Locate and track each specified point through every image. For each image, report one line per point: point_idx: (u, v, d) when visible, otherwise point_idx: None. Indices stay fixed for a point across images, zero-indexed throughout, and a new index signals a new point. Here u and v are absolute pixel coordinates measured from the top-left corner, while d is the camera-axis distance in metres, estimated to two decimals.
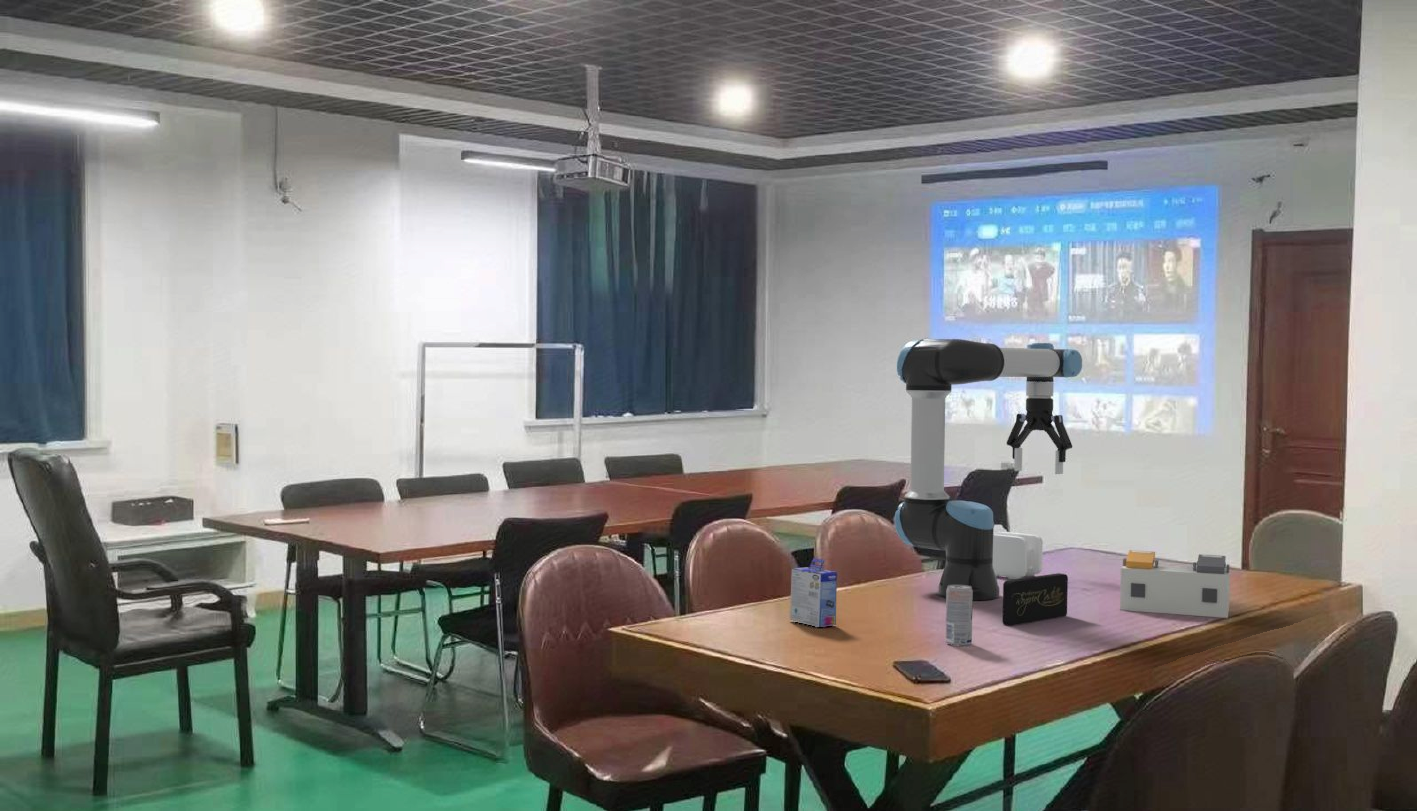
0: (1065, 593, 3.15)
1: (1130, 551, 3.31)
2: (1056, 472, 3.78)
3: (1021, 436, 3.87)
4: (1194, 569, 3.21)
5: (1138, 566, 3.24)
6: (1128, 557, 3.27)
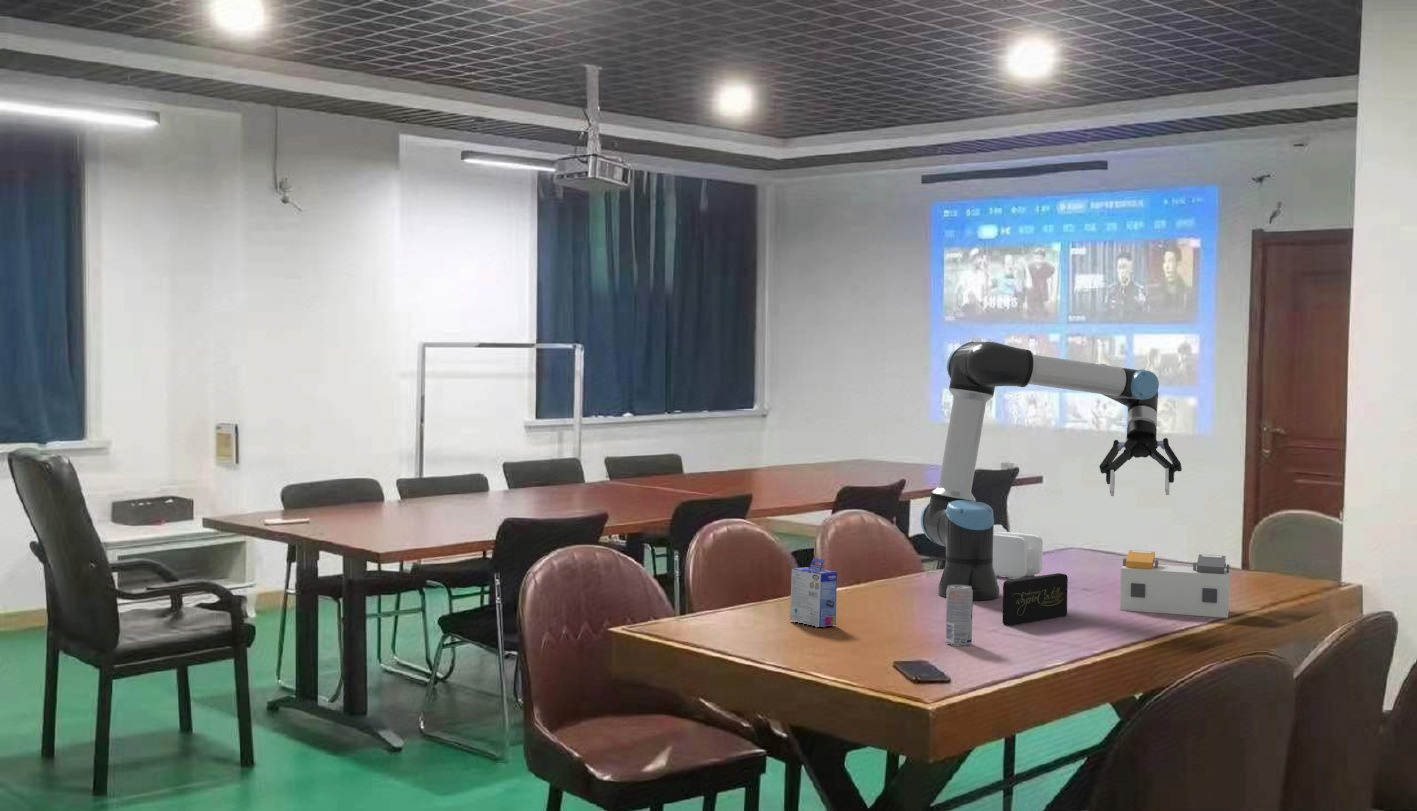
0: (1065, 593, 3.15)
1: (1130, 551, 3.31)
2: (1166, 487, 3.44)
3: (1119, 459, 3.54)
4: (1194, 569, 3.21)
5: (1138, 566, 3.24)
6: (1128, 557, 3.27)
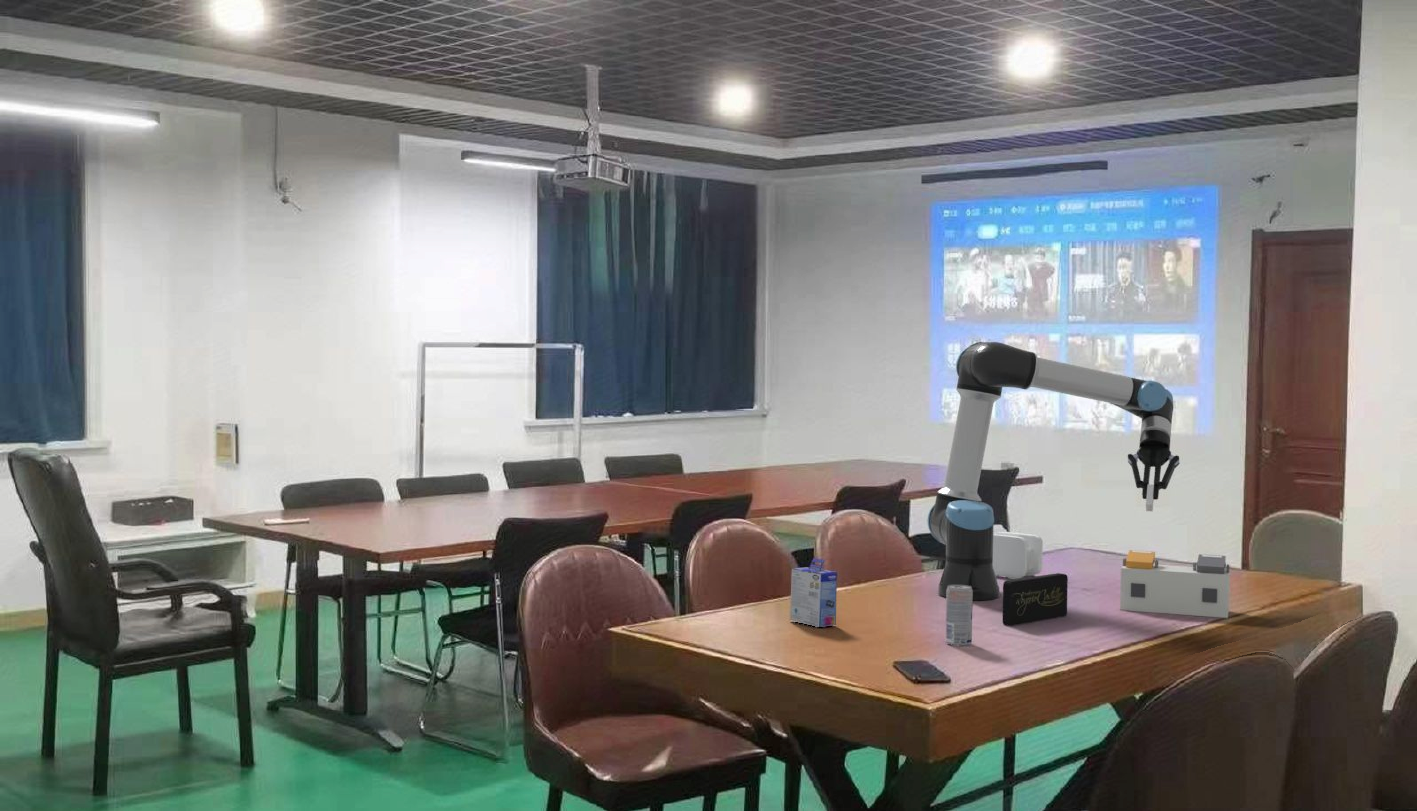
0: (1065, 593, 3.15)
1: (1130, 551, 3.31)
2: (1150, 503, 3.38)
3: (1147, 471, 3.45)
4: (1194, 569, 3.21)
5: (1138, 566, 3.24)
6: (1128, 557, 3.27)
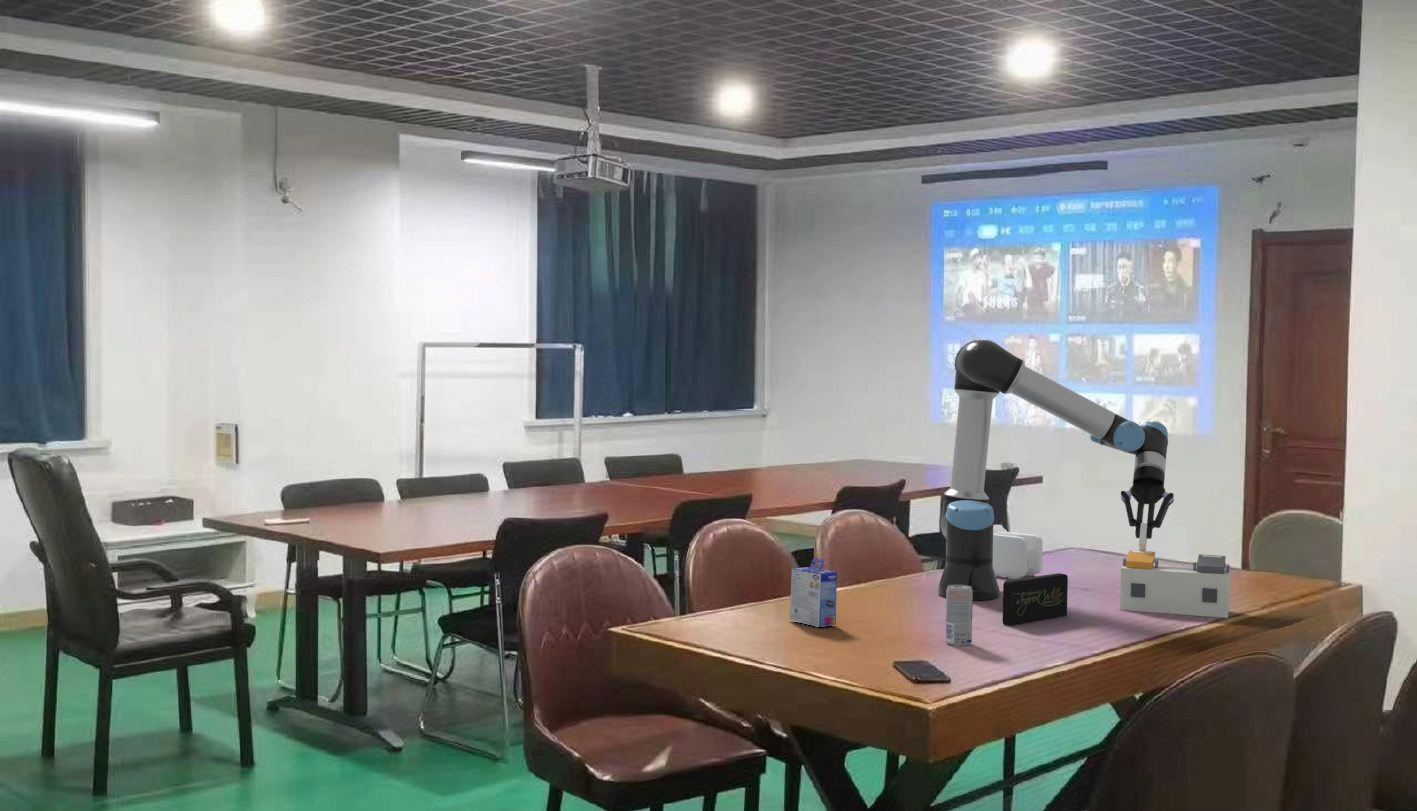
0: (1065, 593, 3.15)
1: (1130, 551, 3.31)
2: (1143, 542, 3.29)
3: (1141, 509, 3.36)
4: (1194, 569, 3.21)
5: (1138, 566, 3.24)
6: (1128, 557, 3.27)
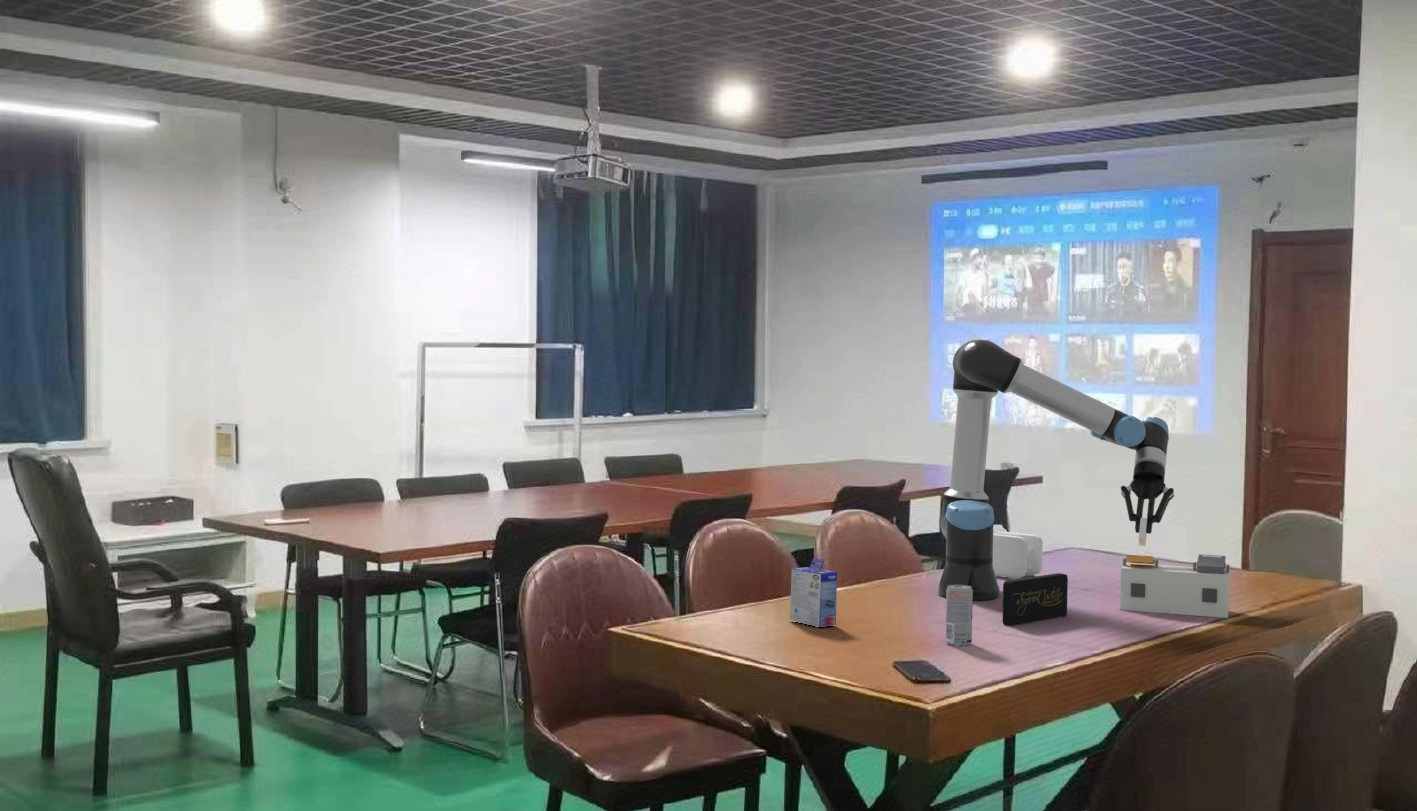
0: (1065, 593, 3.15)
1: None
2: (1143, 537, 3.29)
3: (1141, 503, 3.36)
4: (1194, 569, 3.21)
5: (1138, 560, 3.23)
6: None
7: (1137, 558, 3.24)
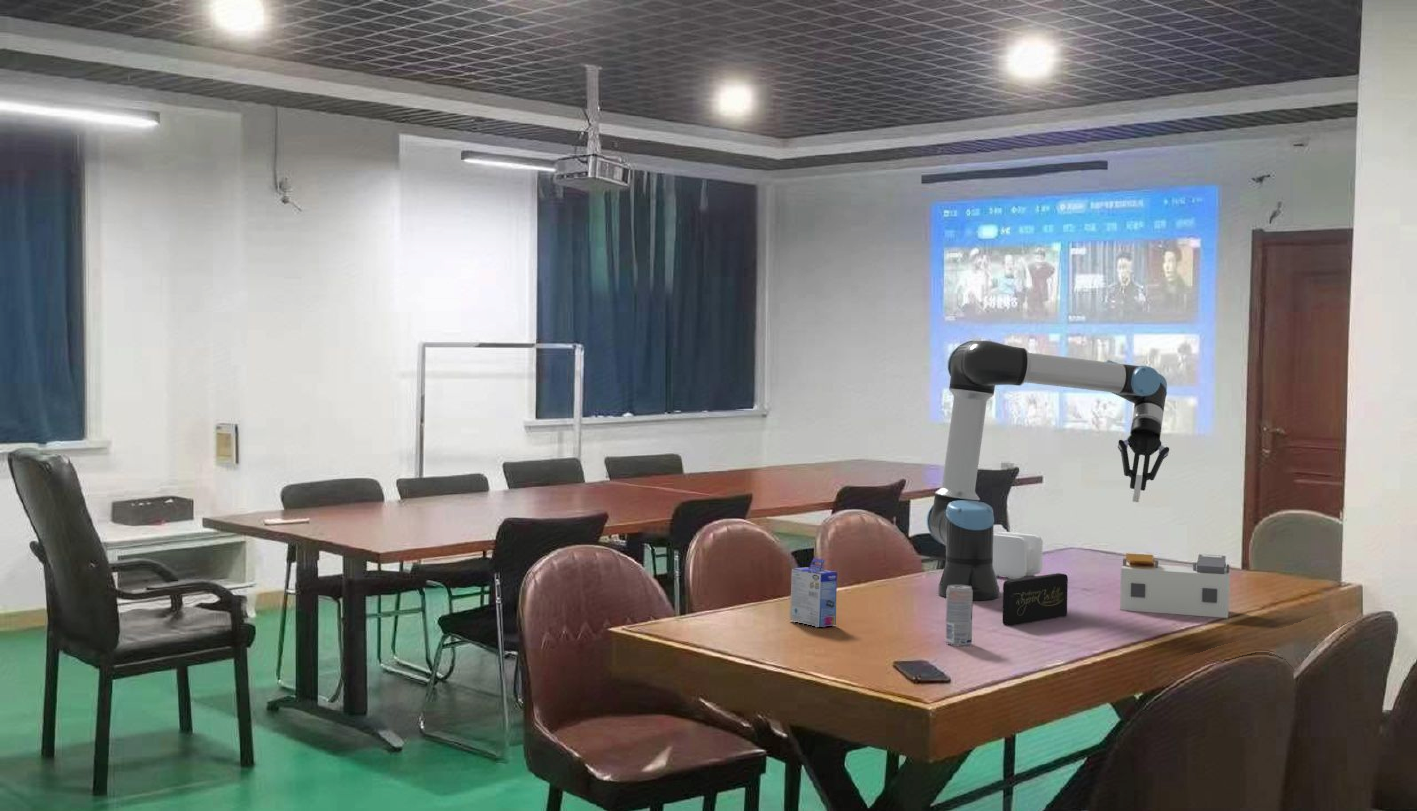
0: (1065, 593, 3.15)
1: None
2: (1138, 494, 3.41)
3: (1137, 460, 3.47)
4: (1194, 569, 3.21)
5: (1138, 558, 3.23)
6: None
7: (1137, 557, 3.24)
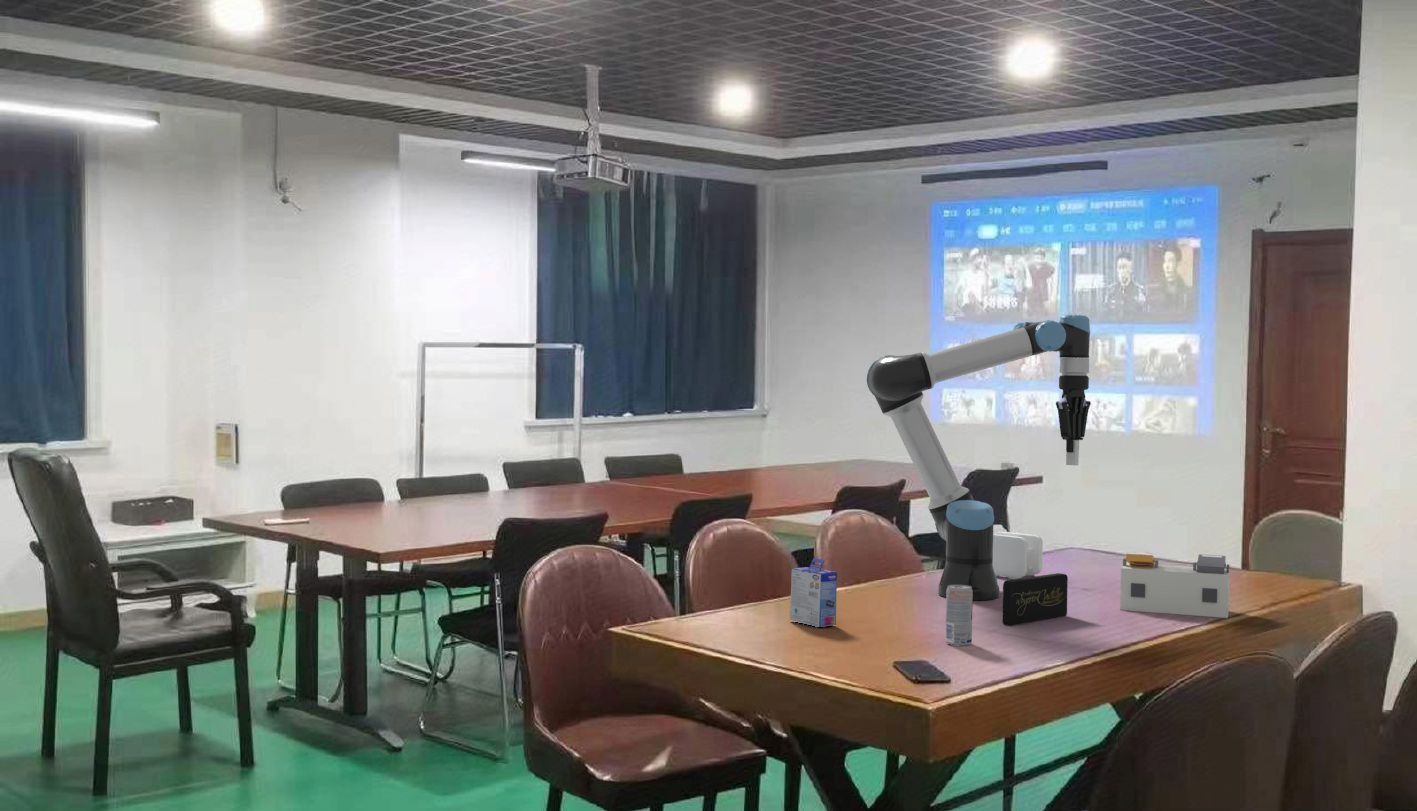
0: (1065, 593, 3.15)
1: None
2: (1077, 463, 3.53)
3: (1074, 423, 3.52)
4: (1194, 569, 3.21)
5: (1138, 559, 3.23)
6: None
7: (1137, 557, 3.24)
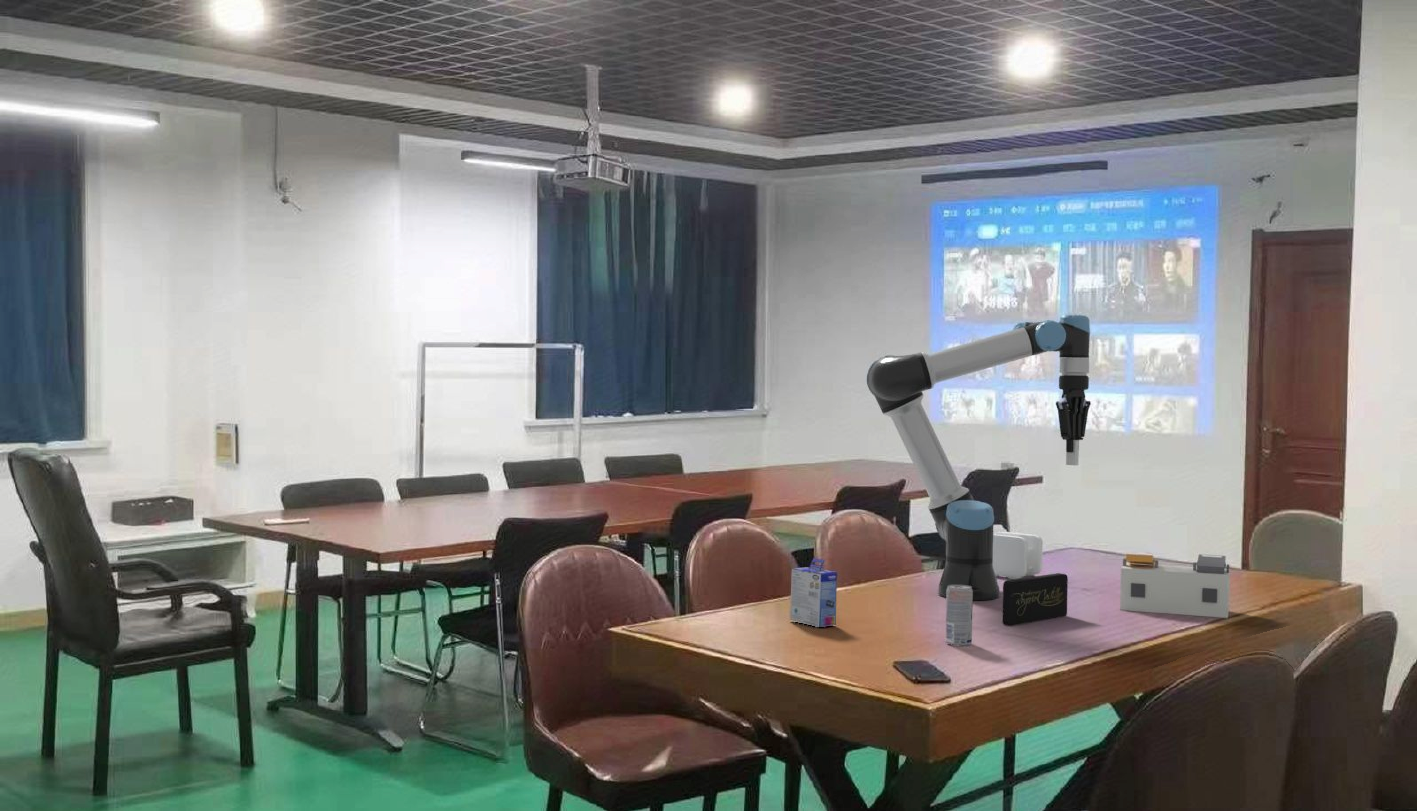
0: (1065, 593, 3.15)
1: None
2: (1077, 463, 3.53)
3: (1074, 423, 3.52)
4: (1194, 569, 3.21)
5: (1138, 559, 3.23)
6: None
7: (1137, 557, 3.24)
